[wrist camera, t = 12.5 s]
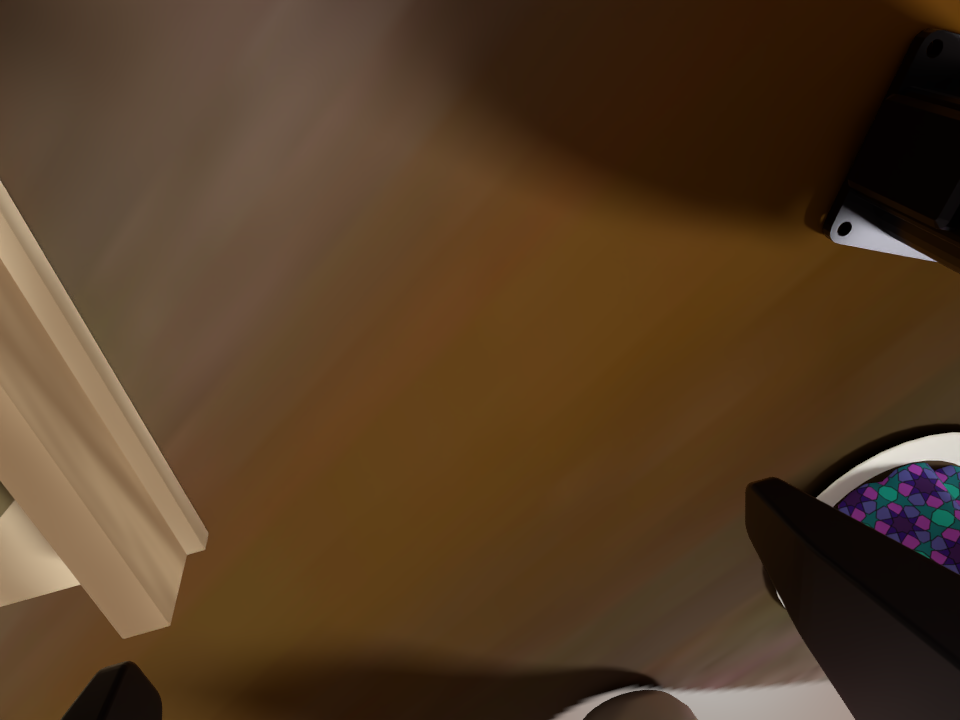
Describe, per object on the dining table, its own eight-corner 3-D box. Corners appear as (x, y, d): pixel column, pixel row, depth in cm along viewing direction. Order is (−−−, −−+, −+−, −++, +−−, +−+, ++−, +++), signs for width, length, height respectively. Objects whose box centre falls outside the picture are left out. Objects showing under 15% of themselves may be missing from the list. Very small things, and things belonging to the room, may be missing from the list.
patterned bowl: (995, 566, 36) (1088, 655, 31) (772, 643, 36) (834, 743, 31) (1028, 384, 29) (1151, 463, 25) (757, 478, 29) (832, 574, 25)
